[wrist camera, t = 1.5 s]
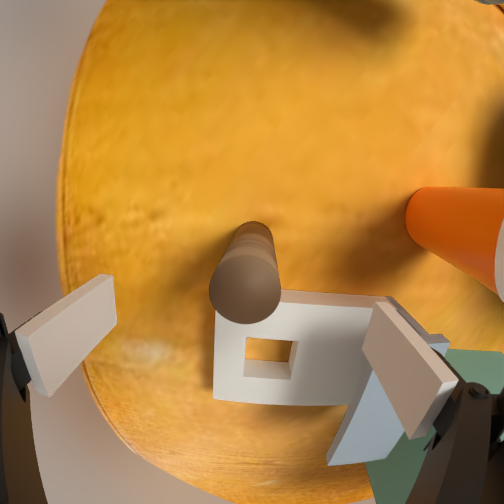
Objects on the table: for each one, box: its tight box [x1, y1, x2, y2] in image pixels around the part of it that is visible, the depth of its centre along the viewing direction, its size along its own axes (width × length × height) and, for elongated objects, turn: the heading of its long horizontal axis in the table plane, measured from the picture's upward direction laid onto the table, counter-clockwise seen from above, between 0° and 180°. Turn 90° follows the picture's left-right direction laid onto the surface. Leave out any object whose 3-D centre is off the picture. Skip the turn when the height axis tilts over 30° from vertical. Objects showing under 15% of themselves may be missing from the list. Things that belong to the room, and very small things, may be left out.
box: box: [365, 349, 504, 504], centre depth 22 cm, size 23×21×26 cm
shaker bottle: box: [405, 187, 504, 303], centre depth 18 cm, size 9×9×20 cm
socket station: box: [213, 289, 450, 466], centre depth 26 cm, size 16×20×12 cm
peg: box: [209, 221, 281, 324], centre depth 22 cm, size 4×4×14 cm
